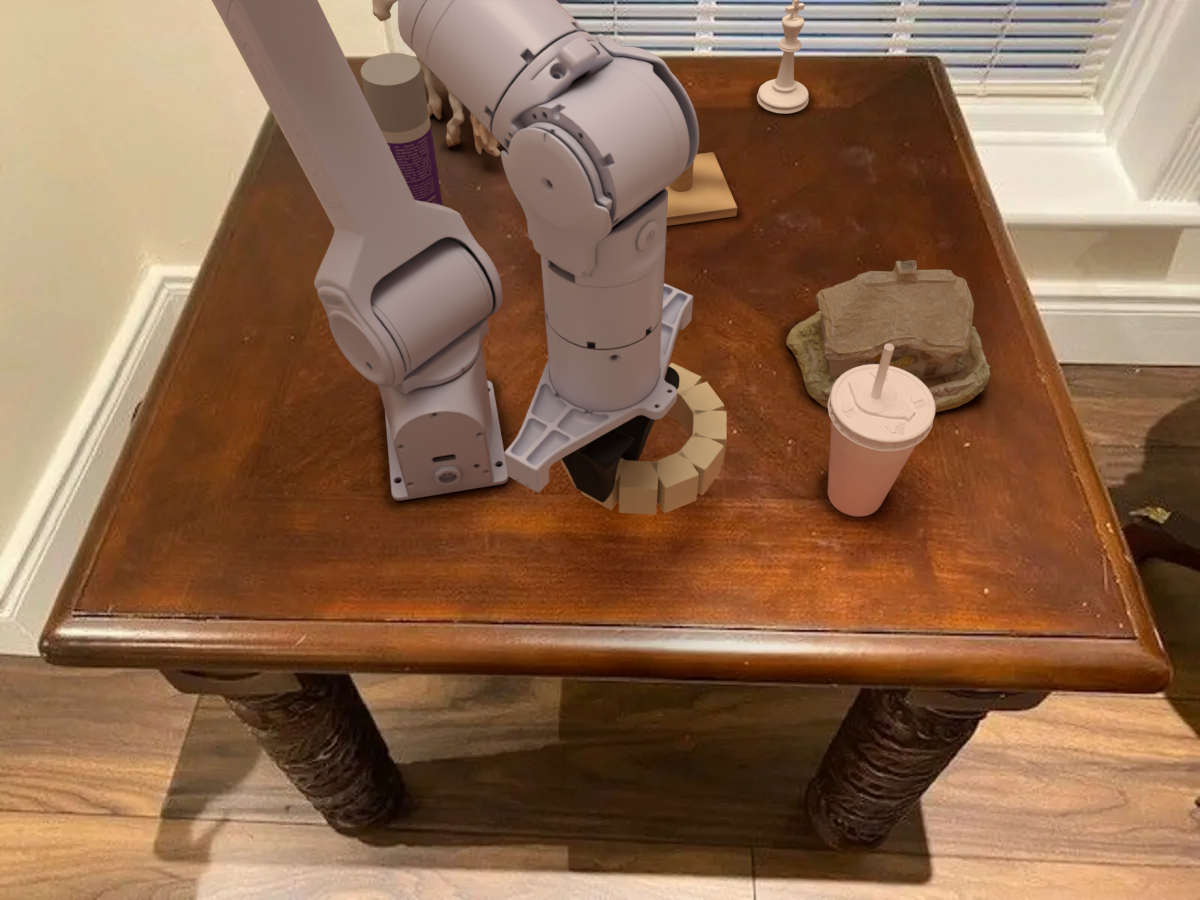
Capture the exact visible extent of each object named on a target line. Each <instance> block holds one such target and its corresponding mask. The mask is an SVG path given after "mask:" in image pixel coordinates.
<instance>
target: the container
mask: <svg viewBox="0 0 1200 900" xmlns="http://www.w3.org/2000/svg"><path fill="white" fill-rule="evenodd" d="M360 77H361V84H362V91H363V95H364V97H365V99H366V101H367V103H368V105H369V107H370V109H371V111H372V113H373V115H374V117H375V119H376V121H377V124H378V126H379V128H380V130H381V132H382V134H383V136H384V138H385V140H386V142H387V144H388V146H389V148H390V150H391V152H392V154H393V156H394V159H395V161H396V163H397V165H398V167H399V169H400V171H401V173H402V175H403V177H404V179H405V181H406V183H407V185H408V187H409V189H410V191H411V194H412V196H413V198H414V200H418V201H423V202H428V203H434V204H439V205H442V206H444V205H443V204H444V203H443V197H442V190H441V184H440V178H439V170H438V163H437V157H436V150H435V143H434V138H433V137H434V136H433V128H432V123H431V118H430V117H431V116H430V117H429V111H428V106H427V104H428V101H427V94H426V90H425V82H424V77H423V72H422V67H421V64H420V62H419V59H418V58H416V57H414V56H412V55H411V54H406V53H401V52H387V53H381V54H378V55H375V56H373V57H370V58H369V59H366V61H365V62H364V63H363V64H362V66H361V67H360Z"/></svg>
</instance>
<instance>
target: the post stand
mask: <svg viewBox="0 0 1200 900" xmlns="http://www.w3.org/2000/svg"><path fill="white" fill-rule="evenodd" d="M665 189H666V190H667V191H668V207H667V227H668V226H669V227H670V226H676V225H683V224H684V225H685V224H691V223H697V222H706V221H713V220H719V219H726V218H734V217H737V215H738V214H737V213H738V206H737V203H736V201H735V199H734V197H733V194H732V191H731V190H730V187H729V185H728V183H727V181H726V177H725V175H724V173H723V170H722V169H721V166H720V164H719V162H718V159H717V157H716V154H715V152H713V151H712V152H704V153H697V154H696V157H695V159H694V161H693V163H692V164H691V165H690V167H689V168H688V169H686V170H685V171H684V172H683V173H682V174H681V175H680V176H679V177H678V178H677V179H676V180H675V181H674V182H672V183H671V184H670V185H668V186H667V187H666V188H665Z"/></svg>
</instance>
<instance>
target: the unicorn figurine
mask: <svg viewBox="0 0 1200 900" xmlns="http://www.w3.org/2000/svg"><path fill="white" fill-rule="evenodd" d="M371 1H372V15H373V16H374V17H376V19H377V20H378V21H379V22H385V21H387V20H389V19H391V16H392V14H391V9H392V8H393V5H394V4H395V3H396V2H398V0H371ZM415 56H416V57H417V60H418V62H419V63H420V66H421V70H422V71H423V76H424V77H423V81H424V85H425V86H426V88H427V91H428V101H427V106H428V111H429V117H432V115H434V116H435V118H436V119H437V120H441V119H442V104H443V101H442V99H441V97H440V96H439V95H438V93H437V90H436V87H437V79H436V75H435V74H434V73H433V72H432V71H431V70H430V69H429V68H428V67H427V66H426V64H425V63H424V62H423V61H422V60H421V59H420V58H419V57H418V56H417V55H416V54H415ZM444 86H445V85H444ZM445 89H446V91H447V94H448V102H449V104H450V107H451V109H452V113H453V115H452V117H451V119H450V120H449V121H448V122H447V123H446V135H445V136H446V137H445V139H446V145H447V147H449V148H450V147H455V146H458V145H459V144H460V143H461V140H460V136H461V133H462V132H461V126H460V125H462V124H464V122H465V120H466V118H465V114H464V109H463V108H464V105H463V103H462V102H461V101H460V100H459V99H458V98H457V97H456V96H455V95H454V94H453V93H452V92H451V91H450V90H449V89H448V88H447V87H446V86H445ZM469 120H470V123H471V125H472V129H473V130H472V133H473V137H474V146H475V149H476V152H477V153H478V155H482V153H483V150H484V151H485V153H487V154H489V155H491V156H492V157H494V158H495V157H496V158H497V157H501V151H500V149H498V148H499V147H500V145H501V143H500V142H499V141H498V140H497V139H496V138H495V137H494V136H493V135H492V134H491V133H490V132H489V131H488V130H487V129H486V127H485V126H484V125H483V124H482V123H481V122H480V121H479V120H478V119H477V118H476V117H475V116H474V115H473V114H472V113H471V112H470V116H469Z"/></svg>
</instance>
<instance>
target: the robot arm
mask: <svg viewBox="0 0 1200 900" xmlns="http://www.w3.org/2000/svg"><path fill="white" fill-rule="evenodd" d="M211 2H212V4H213V6H214V7H215V9H216V11H217V13H218V15H219V17H220V19H221V21H222V22H223V25H224V26H225V28H226V30H227V31H228V34H229V35H230V37H231V39H232V41H233V43H234V45H235V46H236V48H237V50H238V52H239V53H240V56H241V57H242V60H243V62H244V63H245V65H246V67H247V69H248V71H249V73H250V74H251V76H252V78H253V80H254V82H255V84H256V85H257V87H258V89H259V91H260V93H261V95H262V97H263V98H264V100H265V102H266V104H267V106H268V108H269V110H270V113H272V116H273V117H274V119H275V121H276V123H277V125H278V127H279V128H280V131H281V132H282V134H283V136H284V137H285V139H286V142H287V143H288V145H289V148H291V149H290V150H292V152H293V154H294V156H295V158H296V161H297V162H298V164H299V165H300V168H301V169H302V171H303V173H304V174H305V178H307V180H308V183H309V184H310V186H311V188H312V189H313V192H314V194H315V195H316V197H317V199H318V201H319V202H320V205H321V206H322V208H323V210H324V213H325V214H326V216H327V218H328V220H329V221H330V223H331V225H332V227H333V235H332V238H331V241H330V243H329V245H328V247H327V250H326V252H325V254H324V257H323V259H322V261H321V263H320V265H319V267H318V270H317V272H316V275H315V278H314V281H313V285H314V288H315V289H316V292H317V297H318V299H319V301H320V302H321V304H322V307H323V309H324V311H325V314H326V316H327V319H328V325H329V329H330V332H331V334H332V337H333V339H334V341H335V343H336V345H337V347H338V348H339V350H340V352H341V353H342V354H343V356H344V357H345V359H346V360H347V361H348V362H349V364H350V365H351V366H352V368H354V369H355V370H356V371H357V373H359V374H360V375H361V376H363V378H365V379H366V380H368V381H369V382H371V383H373V384H375V385H377V386H378V390H379V393H380V398H381V401H382V404H383V408H384V413H385V414H384V415H385V416H384V417H385V428H386V440H387V441H386V443H387V451H388V465H389V478H390V479H389V480H390V491H391V496H392V499H393V500H395V501H399V502H400V501H407V500H412V499H419V498H424V497H432V496H438V495H444V494H450V493H455V492H461V491H468V490H474V489H475V490H476V489H481V488H486V487H492V486H493V487H494V486H498V485H499V486H500V485H503V484H506V483H507V482H508V481H509V478H510V479H512V480H515V481H516V482H517V483H518V484H521V485H522V486H524V487H526V488H528V489H530V490H532V491H534V492H536V493H537V494H538V493H541V492H542V491H543V490H544V488H545V487H546V486H547V485H548V484H549V482H550V470H551V469H550V468H551V467H552V466H553V465H554V464H556V463H557V462H559V461H561V459H562V461H563V462H564V464H565V466H566V467H567V469H568V471H569V473H570V475H571V477H572V479H573V482H574V484H575V486H576V488H577V489H576V488H575V489H576V490H578V491H580V492H581V491H582V492H584V493H586V494H587V495H589V496H591V497H593V498H595V499H596V500H598V501H600V502H605V501H606V500H607V498H608V497H609V496H610V494H611V493H612V491H613V488H614V485H615V479H616V472H617V467H618V464H619V461H620V458H623V459H625V460H631V461H640V458H641V456H642V453H643V450H644V449H645V446H646V443H647V440H648V438H649V436H650V432H651V430H652V428H653V426H654V423H655V421H657V420H661V419H662V418H664V417H665V416H666V415H665V414H666V413H667V412H668V411H669V410H670V409H671V407H672V406H673V405H674V404H675V402H676V400H677V389H678V388H679V381H680V379H679V375H678V373H677V371H676V370H675V369H673V368H672V367H670V366H669V365H670V363H671V362H670V361H671V358H672V355H673V351H674V348H675V344H676V341H677V337H678V333H679V331H682V330H684V329H686V327H687V326H689V324H690V323H691V322H692V316H693V305H694V296H693V295H692V294H690V293H687V292H685V291H683V290H681V289H679V288H676V287H674V286H672V285H670V284H667V283H665V269H666V247H667V245H666V244H667V227H668V226H667V207H668V191H667V190H666V189H665V188H666V187H667V186H668V185H670V184H671V183H672V182H674V181H675V180H676V179H677V178H678V177H679V176H680V175H681V174H682V173H683V172H684V171H685V170H686V169H688V168H689V167H690V165H691V164H692V163H693V161H694V159H695V157H696V154H698V152H699V145H700V128H699V121H698V117H697V114H696V110H695V108H694V105H693V103H692V101H691V99H690V97H689V95H688V93H687V91H686V89H685V87H684V86H683V85H682V83H681V81H679V79H678V78H677V77H676V76H675V74H673V72H672V71H671V69H670V68H669V66H668V65H667V63H666V62H665V60H663V59H662V58H661V57H659V56H658V55H656V54H654V53H653V52H651V51H648V50H646V49H644V48H640V47H637V46H625V45H623V44H620V43H618V42H617V41H616V40H615V39H614V38H612V36H611V35H609V34H606V35H604V34H603V33H599V34H597V35H591V34H590V33H589V32H588V31H587V30H586V28H584V27H583V25H582V24H580V23H579V22H578V21H577V20H576V18H574V17H573V16H572V14H571V13H570V12H568V10H566V8H565V7H564V6H563V5H562V4H561V3H560V2H559V1H558V0H397V27H398V31H399V35H400V37H401V39H402V42H403V43H404V44H405V45H406V46H407V47H408V48H409V49H410V50H411V51H412V52H413V53H414V54H415V56H416V55H417V56H418V57H419V58H420V59H421V60H422V61H423V62H424V63H425V64H426V66H427V67H428V68H429V69H430V70H431V71H432V72H433V74H434V76H435V77H437V79H438V80H439V81H440V82H441V83H442V84H443V85H444V86H446V87H447V88H448V89H449V90H450V91H451V92H452V93H453V94H454V95H455V96H456V97H457V98H458V99H459V100H460V101H461V102H462V105H463V106H464V107H465V108H466V109H467V110H468V111H469V112H470V114H471V113H472V114H473V115H474V116H475V117H476V118H477V119H478V120H479V121H480V122H481V123H482V124H483V125H484V126H485V127H486V129H487V130H488V131H489V132H490V133H491V134H492V135H493V136H494V137H495V138H496V139H497V140H498V141H499V142H500V145H501V146H503V148H504V149H505V150H501V151H500V153H501V155H500V158H501V163H502V166H503V171H504V173H505V176H506V180H507V182H508V184H509V186H510V188H511V190H512V192H513V194H514V196H515V197H516V200H517V201H518V202H519V204H520V206H521V208H522V210H523V212H524V216H525V220H526V227H527V236H528V240H530V241H531V242H532V245H533V249H534V250H535V252H536V253H537V254H539V255H540V263H541V277H542V291H543V303H544V321H545V331H546V332H545V333H546V344H547V346H546V347H547V358H548V359H547V361H546V364H545V366H544V369H543V371H542V373H541V376H540V379H539V381H538V385H537V387H536V390H535V392H534V394H533V397H532V400H531V402H530V405H529V407H528V410H527V412H526V414H525V417H524V419H523V422H522V425H521V427H520V429H519V431H518V433H517V435H516V437H514V438H515V439H513V441H512V443H510V445H509V446H508V447H507V448H506V449H504V443H503V436H502V431H501V426H500V420H499V419H500V418H499V412H498V408H497V407H498V406H497V403H496V396H495V390H494V384H493V382H492V381H491V380H488V379H487V377H488V376H487V371H486V364H485V358H484V352H483V351H484V350H483V345H482V341H483V340H484V338H485V337H486V335H487V334H488V333H490V329H489V322H488V318H489V317H491V316H493V315H494V314H496V313H498V311H499V310H500V309H501V307H502V305H503V290H502V289H503V288H502V282H501V278H500V274H499V272H498V270H497V267H496V265H495V263H494V262H493V260H492V259H491V257H490V256H489V254H488V253H487V252H486V250H484V248H483V247H482V246H481V244H479V243H478V241H477V240H476V239H475V237H474V235H473V234H472V232H471V231H470V229H469V228H468V226H467V225H466V222H465V220H464V218H463V217H462V215H461V213H460V212H458V211H456V210H454V209H453V208H451V207H448V206H445V205H443V206H442V205H439V204H434V203H428V202H423V201H418V200H414V198H413V196H412V194H411V191H410V189H409V187H408V185H407V183H406V181H405V179H404V177H403V175H402V173H401V171H400V169H399V167H398V165H397V163H396V161H395V159H394V156H393V154H392V152H391V150H390V148H389V146H388V144H387V142H386V140H385V138H384V136H383V134H382V132H381V130H380V128H379V126H378V124H377V121H376V119H375V117H374V115H373V113H372V111H371V109H370V107H369V105H368V103H367V101H366V99H365V95H364V92H363V90H362V89H361V87H360V84H359V83H358V81H357V78H356V76H355V74H354V72H353V70H352V67H351V66H350V64H349V62H348V59H347V58H346V56H345V53H344V51H343V50H342V48H341V45H340V43H339V41H338V39H337V37H336V35H335V32H334V31H333V29H332V27H331V24H330V23H329V21H328V19H327V17H326V15H325V14H326V13H325V12H324V10H323V8H322V6H321V4H320V2H319V0H211ZM417 56H416V57H417ZM418 57H417V58H418ZM446 87H445V88H446ZM498 465H501V466H498ZM399 481H400V482H399Z"/></svg>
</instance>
